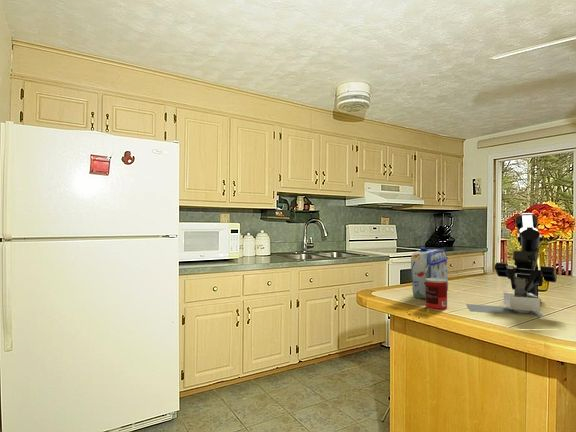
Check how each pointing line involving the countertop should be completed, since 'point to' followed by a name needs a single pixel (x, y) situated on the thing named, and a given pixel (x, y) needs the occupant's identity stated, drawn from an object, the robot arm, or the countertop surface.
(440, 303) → the canned food
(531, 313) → the slate mat
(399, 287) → the countertop surface
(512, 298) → the grey cylinder on plate
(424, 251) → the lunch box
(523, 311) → the bowl
